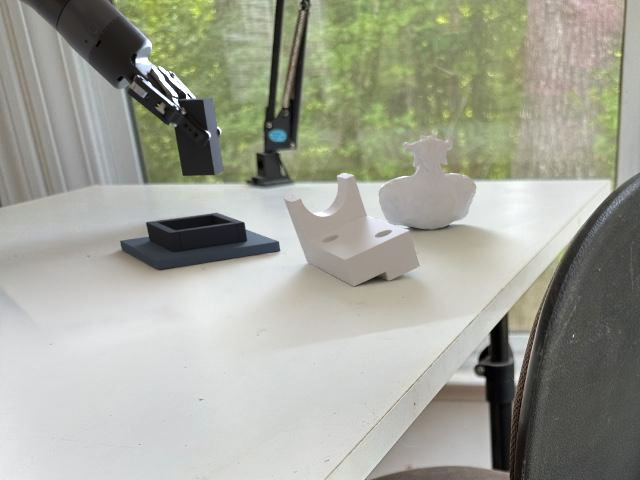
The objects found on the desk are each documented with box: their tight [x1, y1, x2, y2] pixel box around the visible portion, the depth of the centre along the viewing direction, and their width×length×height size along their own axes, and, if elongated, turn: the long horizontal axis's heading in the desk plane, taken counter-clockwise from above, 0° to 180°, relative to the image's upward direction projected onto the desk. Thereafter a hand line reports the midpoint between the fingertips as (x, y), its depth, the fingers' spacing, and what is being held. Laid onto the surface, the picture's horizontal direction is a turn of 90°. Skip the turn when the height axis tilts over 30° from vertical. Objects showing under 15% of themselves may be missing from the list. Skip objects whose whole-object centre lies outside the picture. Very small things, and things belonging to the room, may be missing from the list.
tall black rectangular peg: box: [173, 97, 225, 177], centre depth 121 cm, size 4×4×9 cm
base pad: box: [119, 212, 281, 271], centre depth 102 cm, size 14×14×3 cm
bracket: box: [283, 172, 421, 287], centre depth 90 cm, size 13×7×8 cm, turn 28°
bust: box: [378, 133, 478, 231], centre depth 106 cm, size 12×8×11 cm
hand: (211, 139), depth 121 cm, fingers closed on tall black rectangular peg, 4 cm apart
